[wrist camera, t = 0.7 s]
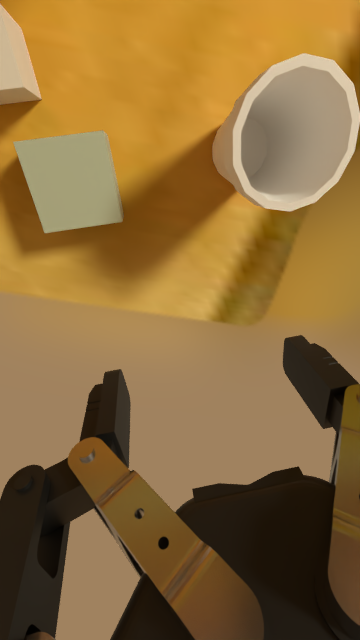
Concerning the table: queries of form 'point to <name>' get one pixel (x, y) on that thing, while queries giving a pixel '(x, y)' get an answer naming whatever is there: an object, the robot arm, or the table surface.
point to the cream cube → (15, 64)
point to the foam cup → (289, 133)
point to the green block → (71, 180)
